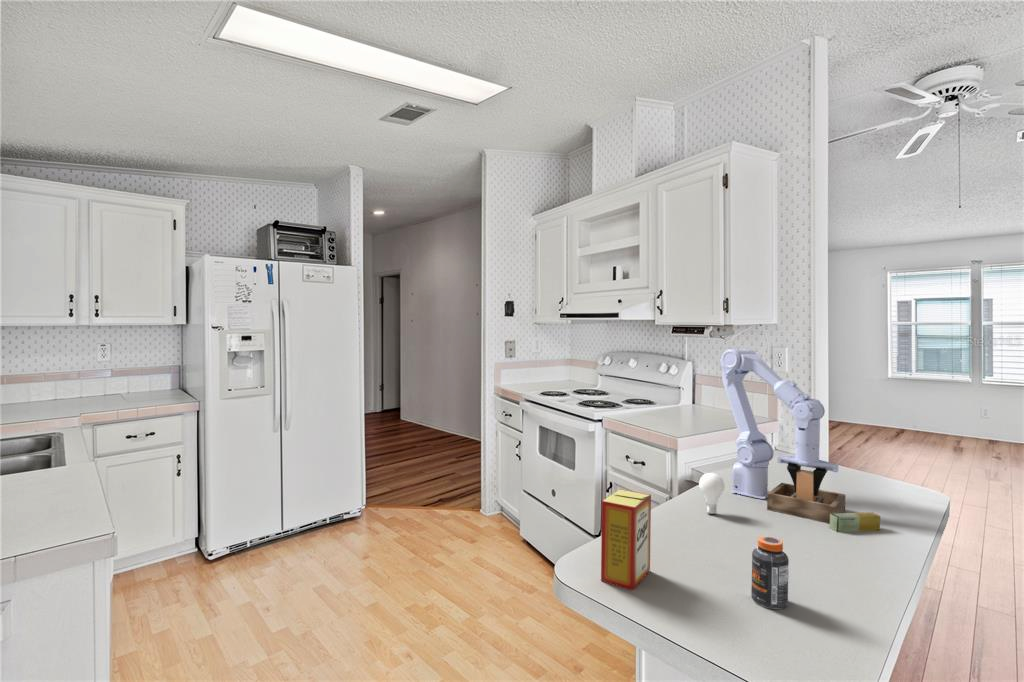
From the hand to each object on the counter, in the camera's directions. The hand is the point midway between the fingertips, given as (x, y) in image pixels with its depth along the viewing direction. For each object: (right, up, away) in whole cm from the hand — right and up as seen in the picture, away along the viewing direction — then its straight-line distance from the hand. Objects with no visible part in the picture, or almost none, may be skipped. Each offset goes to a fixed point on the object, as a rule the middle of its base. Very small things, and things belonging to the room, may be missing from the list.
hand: (806, 493), depth 142 cm
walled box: (0, -5, 0) cm, 5 cm away
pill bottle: (-34, -6, -48) cm, 60 cm away
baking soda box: (-58, -5, -39) cm, 70 cm away
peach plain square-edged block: (0, -2, 0) cm, 2 cm away
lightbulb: (-27, -5, -4) cm, 28 cm away
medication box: (+4, -5, -13) cm, 15 cm away
